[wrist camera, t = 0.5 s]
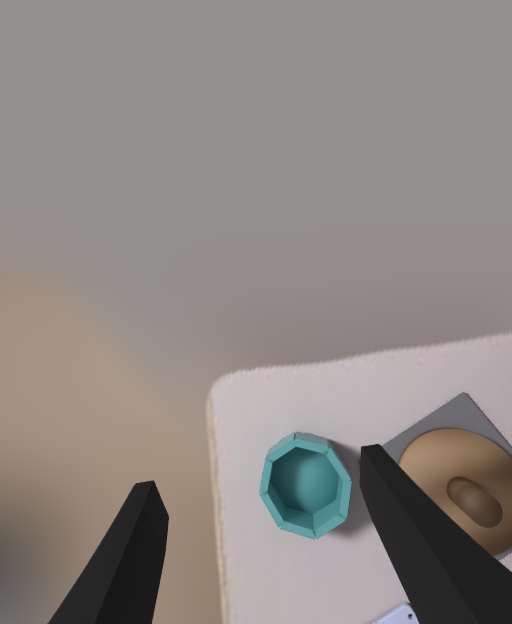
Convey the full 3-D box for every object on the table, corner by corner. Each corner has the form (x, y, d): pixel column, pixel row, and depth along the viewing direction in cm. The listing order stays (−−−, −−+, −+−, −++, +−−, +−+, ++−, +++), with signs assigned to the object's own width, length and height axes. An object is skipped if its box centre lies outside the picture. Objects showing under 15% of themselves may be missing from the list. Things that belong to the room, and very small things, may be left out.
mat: (564, 513, 29) (567, 515, 29) (445, 588, 30) (447, 591, 29) (463, 392, 32) (464, 392, 32) (358, 461, 33) (359, 462, 33)
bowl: (361, 488, 33) (368, 505, 29) (295, 532, 33) (294, 554, 29) (313, 417, 35) (314, 424, 31) (252, 459, 35) (245, 470, 31)
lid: (550, 511, 29) (599, 540, 24) (449, 576, 29) (477, 617, 25) (463, 405, 32) (491, 412, 27) (372, 465, 32) (384, 483, 27)
